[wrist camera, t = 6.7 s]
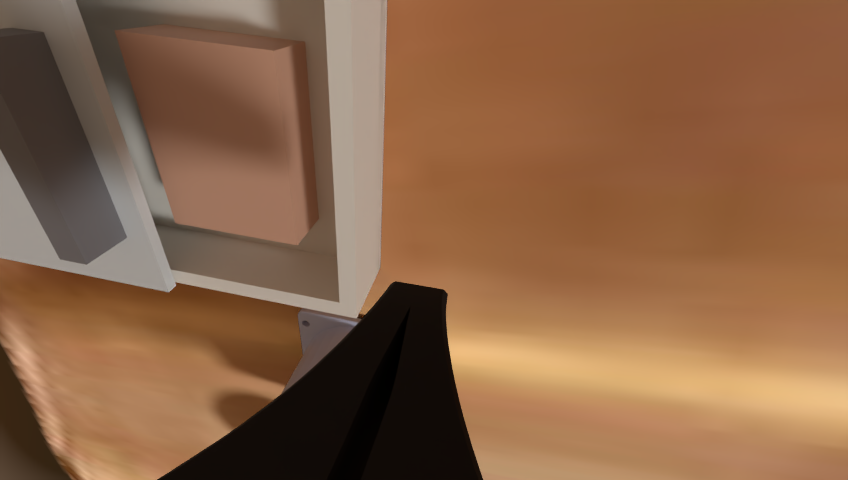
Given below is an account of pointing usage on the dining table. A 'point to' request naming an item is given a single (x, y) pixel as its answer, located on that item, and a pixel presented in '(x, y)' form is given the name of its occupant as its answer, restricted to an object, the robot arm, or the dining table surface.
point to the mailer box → (255, 138)
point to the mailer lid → (67, 156)
